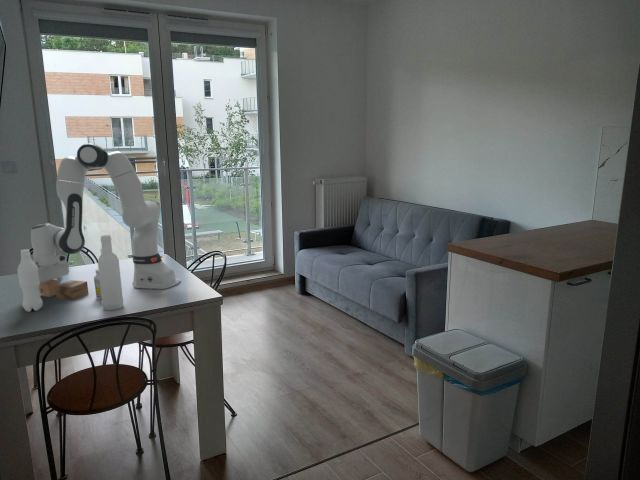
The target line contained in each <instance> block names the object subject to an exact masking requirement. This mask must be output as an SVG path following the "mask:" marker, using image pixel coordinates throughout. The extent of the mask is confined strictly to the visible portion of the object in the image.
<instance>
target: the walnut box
mask: <svg viewBox="0 0 640 480" xmlns="http://www.w3.org/2000/svg"><path fill="white" fill-rule="evenodd" d="M88 285H89V284H88V281H85V280H84V281H83V280H73V279H72V280H71V279H70V280H67V281H65V282H61V284H59V285H56V286H55V292H56V295H55V298H56V300H66V301H75V300H78V299H80V298H83V297H85V296H87V295H89V286H88Z"/></svg>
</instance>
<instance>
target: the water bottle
mask: <svg viewBox="0 0 640 480" xmlns="http://www.w3.org/2000/svg"><path fill="white" fill-rule="evenodd" d="M31 255H32V254H31V253H30V249H21V250H20V262H19V263H18V265H17V266H18V267H17V270H16V271H17V275H18V276H17V277H18V283H19V287H20V289H21V291H22V297H23V301H22V303H21V305H22V307H23V309H24V310H25V312H28V313H29V312H32V310H34V311H35V312H37V311H39V310H40V309H42V308H43V302H44V301H43V299H42V296H41V294H40V293H39V287H40V286H39V284H40V281H39V275H38V267H37V266H36V264H35V263H34V259H32V257H31Z"/></svg>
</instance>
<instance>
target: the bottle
mask: <svg viewBox="0 0 640 480" xmlns="http://www.w3.org/2000/svg"><path fill="white" fill-rule="evenodd" d="M100 243H101V250H102V252H101V253H102V254H100V255H99V257H98V261H97V269H99V277H100V286H101V295H102V299H101V304H102V309H103V310H105V311H115V310H119V309H122V308H124V297H123V287H122V278H121V269H120V268H121V267H120V260H119V258H118V256H117V254H115V253H114V252H113V248H112V236H111V235H110V234H108V235H107V234H106V235H101V236H100Z"/></svg>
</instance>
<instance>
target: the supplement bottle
mask: <svg viewBox="0 0 640 480" xmlns="http://www.w3.org/2000/svg"><path fill="white" fill-rule="evenodd" d="M95 274H96V275H94V277H93V282H94V287H95V288H94V290H95V296H96V297H95V298H97V300H102V295H101V286H100V277H99V268H96V269H95Z"/></svg>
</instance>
